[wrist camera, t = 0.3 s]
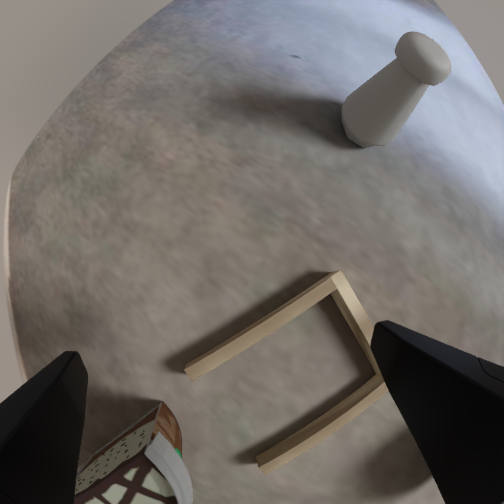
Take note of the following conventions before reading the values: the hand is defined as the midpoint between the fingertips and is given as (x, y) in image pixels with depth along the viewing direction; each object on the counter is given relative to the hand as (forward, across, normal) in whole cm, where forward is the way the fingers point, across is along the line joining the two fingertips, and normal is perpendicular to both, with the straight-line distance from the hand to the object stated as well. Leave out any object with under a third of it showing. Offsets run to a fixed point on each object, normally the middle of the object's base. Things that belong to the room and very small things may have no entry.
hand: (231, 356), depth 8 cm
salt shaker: (+21, -15, -7) cm, 27 cm away
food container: (+7, +7, +17) cm, 20 cm away
